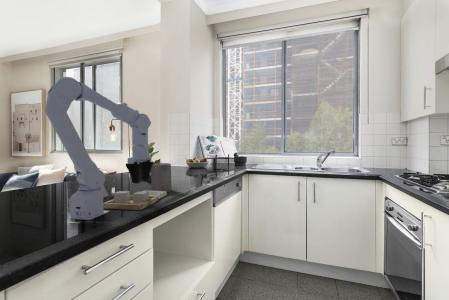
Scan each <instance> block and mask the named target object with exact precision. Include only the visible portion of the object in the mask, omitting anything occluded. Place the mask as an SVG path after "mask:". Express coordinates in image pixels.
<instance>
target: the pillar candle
mask: <svg viewBox="0 0 449 300" xmlns="http://www.w3.org/2000/svg"><path fill="white" fill-rule="evenodd" d="M150 176H151V177H150V178H151V179H150V180H151V182H150V184H151V185H150V186H151V191H167V193H169V192H172V164H171V163H170V162H168V163H167V162H157V163H154V164H153V166H152V168H151V171H150Z"/></svg>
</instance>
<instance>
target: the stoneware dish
mask: <svg viewBox="0 0 449 300" xmlns="http://www.w3.org/2000/svg"><path fill="white" fill-rule="evenodd" d="M141 192H149V196H158V200H160V199H162V198H164V197H165V196H167V195H168V192H167V191H152V190H143V191H141ZM131 195H132V196H133V194H131Z"/></svg>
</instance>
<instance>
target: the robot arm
mask: <svg viewBox="0 0 449 300" xmlns="http://www.w3.org/2000/svg"><path fill="white" fill-rule="evenodd" d="M58 79H59V78H58ZM74 101H75V102H82V101H84V102H85V101H88V102H89V103H92V104H93V105H95V106H98V107H100V108H103V109H104V110H107V111H109V112H111V116H112V117H113V118H115V119H118V120H119V121H121V122H123V123H126V124H127V125H129V126H130V128H131V140H132V141H131V143H132V144H131V145H132V147H131V148H132V150H131V151H132V152H131V153H132V156H131V157H128V158H127V163H125V167H126V169H127V171H128V173H129V176H130V179H131V182H132V184H138V183H139V182H140V176H141V178H142V180H143V181H148V180H149V179H150V178H149V177H150V176H151V168H152V166H153V164H155V162H154V161H152V160H153V159H152V156H151V155H150V156H149V128H150V126H151V124H152V121H151V120H150V117H149V116H148V115H147V114H145V113H140V111H139V110H137V109H134V108H132V107H130V106H128V104H127V103H126V102H114V101H112V100H111V99H109V98H107V97H105V95H103V94H101V93H99V92H97V91H96V90H94V89H93V88H91V87H89V86H88V85H87V84H85V83H83V82H82V81H78V80H77V79H75V78H74V77H70V76H64V77H61V78H60V79H59V80H57V82H55V83H53V85H51V87H50V88H49V89H48V91H47V98H46V103H45V109H44V111H45V115H46V116H47V118H48V120H49V121H50V124H51V126H52V127H53V130H54V131H55V132H56V134H57V137H58V138H59V140H60V142H61V144H62V145H63V147H64V149H65V150H66V152H67V153H66V154H67V155H68V156H69V159H70V160H71V162H72V164H73V170H74V171H75V174H76V175H75V179H76V182H77V183H78V184H79V186H78V187H77V191H76V192H73V193H72V195H71V196H70V199H69V215H70V216H69V217H67V219H69V220H83V221H84V220H85V221H86V220H87V221H90V220H93V219H95V218H97V217H100V216H102V215H104V214H105V215H106V214H107V213H109V212H110V210H105V208H104V206H103V203H104V198H103V186H102V185H103V184H104V185H105V182H106V174H105V172H104V171H102V170H101V169H100V168H99V167H98V166H97V164H96V163H95V162H94V160H93V159H92V158H91V157H90V154H89V153H88V150H87V149H86V147H85V145H84V144H83V141H82V140H81V137H80V135H79V134H78V132H77V130H76V128H75V125H74V124H73V122H72V120H71V118H70V117H69V114H68V111H69V109H70V107H71V104H72V103H73V102H74ZM140 173H141V175H140Z"/></svg>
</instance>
